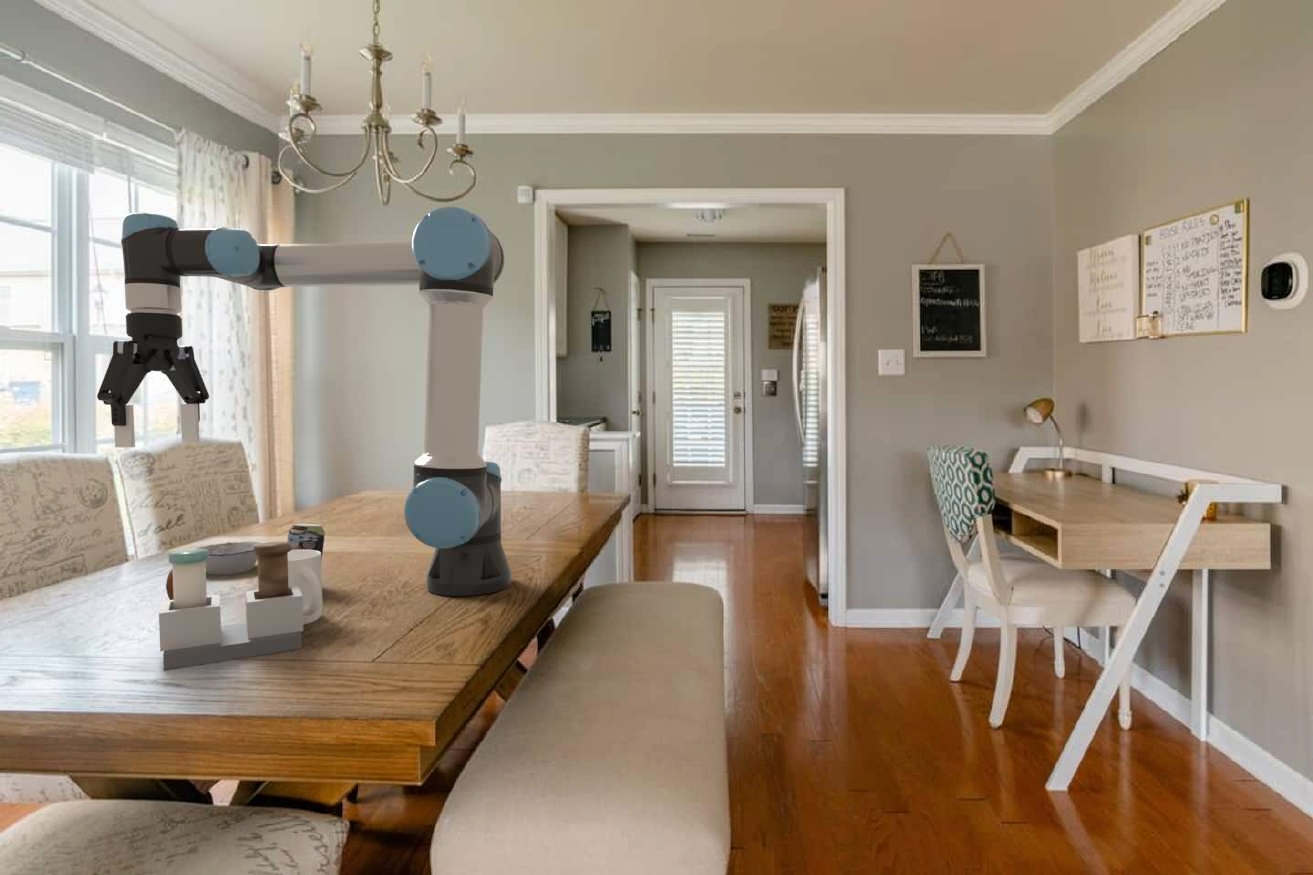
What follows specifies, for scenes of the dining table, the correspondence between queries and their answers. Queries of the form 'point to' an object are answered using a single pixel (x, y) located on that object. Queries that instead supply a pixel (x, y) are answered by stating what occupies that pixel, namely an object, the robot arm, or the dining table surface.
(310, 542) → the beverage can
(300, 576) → the mug
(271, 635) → the white plug holder
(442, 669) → the dining table surface
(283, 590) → the walnut plug
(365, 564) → the dining table surface
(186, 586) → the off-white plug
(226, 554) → the bowl
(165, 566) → the dining table surface
